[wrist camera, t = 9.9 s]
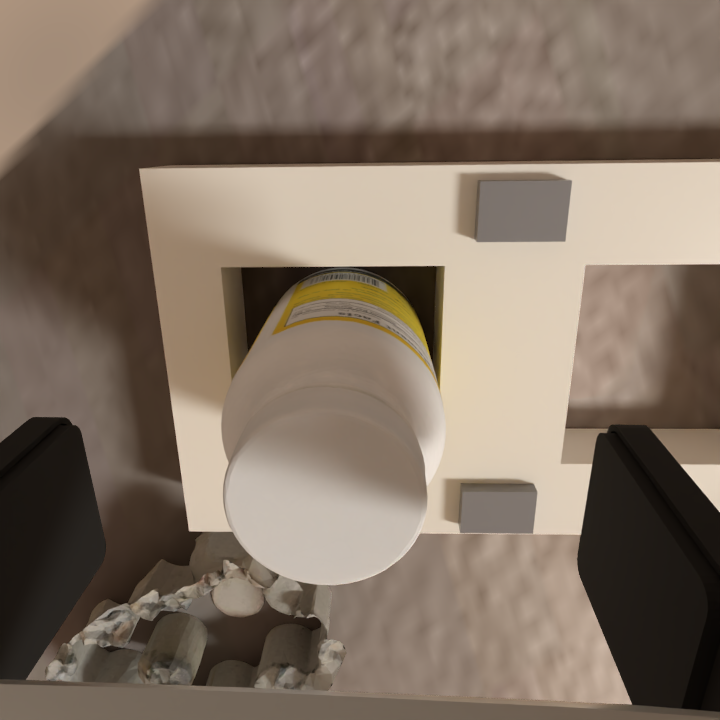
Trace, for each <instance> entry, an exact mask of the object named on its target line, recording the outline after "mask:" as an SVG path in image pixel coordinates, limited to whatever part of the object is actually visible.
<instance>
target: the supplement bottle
mask: <svg viewBox="0 0 720 720" xmlns="http://www.w3.org/2000/svg"><path fill="white" fill-rule="evenodd" d="M221 433H222V442H223V447H224V450H225V454H226V457H227V460H228V463H229V464H228V467H227V470H226V473H225V478H224V484H223V504H224V510H225V515H226V518H227V521H228V524H229V526H230V528H231V530H232V532H233V534H234V535H235V537H236V538H237V540H238V541H239V543H240V544H241V545H242V547H243V548H244V549H245V550H246V552H247V553H248V554H250V555H251V556H252V557H253V558H254V559H255V560H256V561H258V562H259V563H260V564H262V565H263V566H264V567H266V568H268V569H270V570H271V571H273V572H275V573H277V574H279V575H281V576H284V577H286V578H289V579H292V580H295V581H299V582H303V583H310V584H316V585H339V584H347V583H352V582H356V581H360V580H364V579H366V578H369V577H372V576H374V575H376V574H378V573H380V572H382V571H384V570H386V569H387V568H389V567H390V566H391V565H393V564H394V563H396V562H397V561H398V560H399V559H400V558H402V557H403V556H404V554H405V553H406V552H407V551H408V550H409V549H410V548H411V546H412V545H413V544H414V542H415V541H416V539H417V537H418V535H419V533H420V531H421V529H422V526H423V523H424V520H425V516H426V511H427V498H428V496H427V486H428V485H429V483H430V482H431V480H432V478H433V476H434V475H435V473H436V471H437V469H438V467H439V464H440V461H441V458H442V454H443V450H444V445H445V437H446V422H445V413H444V406H443V401H442V397H441V393H440V389H439V386H438V382H437V379H436V374H435V371H434V368H433V364H432V361H431V357H430V353H429V350H428V346H427V343H426V339H425V336H424V332H423V329H422V326H421V323H420V320H419V318H418V316H417V313H416V311H415V309H414V307H413V306H412V304H411V303H410V301H409V300H408V299H407V297H406V296H405V295H404V294H403V293H402V292H401V291H400V290H399V289H398V288H397V287H396V286H395V285H393V284H392V283H391V282H389V281H388V280H386V279H385V278H383V277H381V276H379V275H377V274H375V273H372V272H369V271H366V270H362V269H357V268H331V269H326V270H321V271H318V272H316V273H313V274H311V275H309V276H307V277H305V278H303V279H301V280H300V281H298V282H297V283H296V284H294V285H293V286H292V287H291V288H290V289H289V290H288V291H287V292H286V293H285V294H284V295H283V296H282V297H281V299H280V300H279V301H278V303H277V304H276V306H275V307H274V308H273V310H272V312H271V314H270V315H269V317H268V319H267V320H266V322H265V324H264V326H263V328H262V329H261V331H260V333H259V334H258V336H257V338H256V340H255V342H254V343H253V345H252V347H251V349H250V350H249V352H248V354H247V355H246V357H245V359H244V360H243V362H242V364H241V365H240V367H239V369H238V370H237V372H236V374H235V376H234V378H233V380H232V382H231V385H230V387H229V389H228V392H227V395H226V398H225V401H224V406H223V411H222V419H221Z"/></svg>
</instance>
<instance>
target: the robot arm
mask: <svg viewBox="0 0 720 720" xmlns="http://www.w3.org/2000/svg"><path fill="white" fill-rule="evenodd" d="M105 552H106V543H105V538H104V533H103V529H102V524H101V520H100V515H99V511H98V506H97V502H96V497H95V493H94V488H93V484H92V479H91V475H90V470H89V466H88V461H87V456H86V452H85V447H84V443H83V438H82V434H81V431H80V429H79V428H78V427H77V426H75V425H72V423H71V422H70V420H69V419H67V418H60V417H33V418H31V419H29V420H28V421H26V422H25V423H24V424H23V425H22V426H20V427H19V428H18V429H17V430H15V431H14V432H13V433H12V434H11V435H9V436H8V437H7V438H6V439H4V440H3V441H2V442H1V443H0V720H720V512H719V511H718V509H717V508H716V507H715V506H714V505H713V503H712V502H711V501H710V500H709V499H708V497H707V496H706V495H705V494H704V493H703V492H702V490H701V489H700V488H699V487H698V486H697V484H696V483H695V482H694V481H693V480H692V478H691V477H690V476H689V475H688V474H687V472H686V471H685V470H684V469H683V468H682V466H681V465H680V464H679V463H678V462H677V460H676V459H675V458H674V457H673V456H672V454H671V453H670V452H669V451H668V450H667V448H666V447H665V446H664V445H663V444H662V442H661V441H660V440H659V439H658V438H657V436H656V435H655V434H654V433H653V432H652V430H651V429H650V428H649V427H647V426H646V425H611V426H610V427H609V428H608V430H607V433H599V434H598V436H597V439H596V444H595V450H594V456H593V462H592V469H591V475H590V481H589V487H588V494H587V500H586V506H585V512H584V518H583V525H582V531H581V537H580V543H579V550H578V558H577V561H578V571H579V575H580V578H581V580H582V583H583V585H584V588H585V590H586V593H587V595H588V597H589V600H590V602H591V605H592V607H593V610H594V612H595V615H596V617H597V619H598V622H599V624H600V627H601V629H602V632H603V634H604V636H605V639H606V641H607V644H608V646H609V649H610V651H611V654H612V656H613V658H614V661H615V663H616V666H617V668H618V671H619V673H620V675H621V678H622V680H623V683H624V685H625V688H626V690H627V693H628V695H629V697H630V700H631V702H632V705H628V704H604V703H582V702H565V701H548V700H527V699H504V698H482V697H459V696H436V695H414V694H391V693H369V692H344V691H319V690H293V689H268V688H242V687H215V686H188V685H162V684H133V683H102V682H71V681H40V680H26V678H27V677H28V675H29V674H30V672H31V671H32V669H33V668H34V666H35V665H36V663H37V662H38V660H39V659H40V657H41V655H42V654H43V652H44V651H45V649H46V648H47V646H48V645H49V643H50V642H51V640H52V639H53V637H54V636H55V634H56V633H57V631H58V630H59V628H60V627H61V625H62V624H63V622H64V621H65V619H66V618H67V616H68V614H69V613H70V611H71V610H72V608H73V607H74V605H75V604H76V602H77V601H78V599H79V598H80V596H81V595H82V593H83V592H84V590H85V589H86V587H87V586H88V584H89V583H90V581H91V580H92V578H93V576H94V575H95V573H96V572H97V570H98V569H99V567H100V566H101V564H102V562H103V560H104V557H105Z"/></svg>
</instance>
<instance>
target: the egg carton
mask: <svg viewBox="0 0 720 720" xmlns="http://www.w3.org/2000/svg"><path fill="white" fill-rule="evenodd" d="M195 541H196V546H195V549H194V551H193V552H192V554H191V558H190V563H189V566H178V565H174V564H171V563H169V562H167V561H165V560H164V559H162V560H160V561H159V562H158V563H157V564H156V565H155V567H154V568H153V569H152V570H151V571H150V572H148V574H147V575H146V576H145V577H144V578H143V579H142V580H141V581H140V582H139V583H138V584H137V586H136V587H135V590H134V592H133V593H132V595H131V597H130V599H129V602H128V603H125V604H118V603H116V602H113V601H111V600H110V599H106V600H104V601H102V602H100V603H99V604H98V605H97V606H96V607H95V608H94V609H93V611H92V613H91V616H90V619H89V622H88V624H87V625H86V627H85V629H83V630H82V631H81V632H80V633H78V634H77V635H75V636H74V637H73V638H72V640H71V641H70V642H69V643H68V644H66V643H64V644H62V646H61V647H60V649H59V651H58V653H57V655H56V657H55V659H54V660H53V661H52V662H51V664H50V665H49V666H48V667H46V670H45V674H46V679H47V680H49V681H56V680H58V679H61V680H62V681H71V682H102V683H133V684H162V685H188V686H191V685H192V683H193V680H194V678H195V676H196V673H197V670H198V668H199V665H200V662H201V659H202V655H203V652H204V649H205V647H206V643H207V629H206V627H205V625H204V624H203V623H202V621H200V620H199V619H198V618H196V617H194V616H192V615H190V614H186V613H172V614H168V615H165V616H164V617H162V618H161V619H160V620H159V621H158V623H157V624H156V627H155V629H154V631H153V633H152V635H151V637H150V639H149V642H148V644H147V646H146V648H145V650H143V651H144V652H143V654H142V653H140V652H138V651H135V650H131V649H119V650H116V651H113V652H108V651H107V650H105V649H104V648H103V647H107V646H111V645H112V646H116V647H120V648H124V647H125V646H126V645H127V644H128V643H129V642H130V638H131V635H132V633H133V631H134V629H135V627H136V625H137V622H138V620H139V618H140V617H141V618H143V619H146V620H149V621H153V619H154V618H155V617H156V616H157V615H158V614H159V612H160V611H162V610H164V611H173V612H174V611H177V610H178V609H180V608H181V607H182V608H184V609H186V610H187V609H188V607H189V606H190V604H191V602H192V599H197V598H199V597H202V596H205V595H206V594H207V593H209V592H210V591H211V590H212V591H211V595H212V600H213V602H214V605H215V606H216V607H217V608H218V609H219V610H220V611H222V612H223V613H225V614H227V615H229V616H232V617H241V618H243V617H247V616H250V615H253V614H256V613H258V612H259V611H260V610H261V608H262V606H263V604H264V598H265V599H266V601H267V602H268V603H269V605H270V606H271V608H274V609H275V610H277V611H279V612H281V613H284V614H287V615H295V616H294V618H295V617H307V618H310V617H316V618H318V619H319V620H320V621H321V623H322V624H321V627H320V628H318V629H316V630H314V631H311V630H309V629H308V628H306V627H304V626H301V625H298V624H283V625H279V626H276V627H274V628H273V629H272V630H271V631H270V632H269V633H268V635H267V636H266V639H265V644H264V648H263V652H262V656H261V661H260V665H258V666H256V667H253V666H251V665H249V664H247V663H245V662H242V661H237V660H226V661H223V662H220V663H218V664H217V665H215V666H214V667H213V668H212V669H211V671H210V673H209V677H208V680H207V683H206V686H215V687H242V688H268V689H293V690H319V691H328V690H329V689H330V687H331V686H332V684H333V681H334V679H335V677H336V675H337V673H338V670H339V668H340V666H341V664H342V661H343V659H344V657H345V655H346V650H345V648H344V645H343V644H342V643H341V642H339V641H335V640H328V639H327V634H328V630H329V622H330V620H329V615H330V606H331V598H332V593H331V590H330V587H329V586H328V585H316V584H310V583H303V582H299V581H295V580H292V579H289V578H286V577H284V576H281V575H279V574H277V573H275V572H273V571H271V570H270V569H268V568H266V567H264V566H263V565H262V564H260V563H259V562H258V561H256V560H255V559H254V558H253V557H252V556H251V555H250V554H248V553H247V552H246V550H245V549H244V548H243V547H242V545H241V544H240V543H239V541H238V540H237V538H236V537H235V535H234V534H233V532H203V533H202V534H201V535H200V536H199V537H198V538H196V539H195Z"/></svg>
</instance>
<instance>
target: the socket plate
mask: <svg viewBox="0 0 720 720" xmlns="http://www.w3.org/2000/svg"><path fill="white" fill-rule="evenodd" d="M139 172H140V179H141V186H142V193H143V201H144V208H145V215H146V222H147V230H148V237H149V244H150V251H151V259H152V266H153V273H154V280H155V288H156V295H157V302H158V309H159V317H160V324H161V331H162V338H163V346H164V353H165V360H166V367H167V375H168V382H169V389H170V396H171V404H172V411H173V418H174V425H175V433H176V440H177V447H178V454H179V462H180V469H181V476H182V483H183V491H184V498H185V505H186V512H187V520H188V527H189V531H197V532H232V530H231V528H230V526H229V524H228V521H227V518H226V515H225V510H224V504H223V484H224V478H225V473H226V470H227V467H228V464H229V463H228V460H227V457H226V454H225V450H224V447H223V442H222V433H221V419H222V411H223V406H224V401H225V398H226V395H227V392H228V389H229V387H230V385H231V382H232V380H233V378H234V376H235V374H236V372H237V370H238V369H239V367H240V365H241V364H242V362H243V360H244V359H245V357H246V355H247V354H248V344H247V332H246V321H245V309H244V297H243V285H242V273H241V267H348V266H436V283H435V313H434V342H433V368H434V371H435V374H436V379H437V382H438V386H439V389H440V393H441V397H442V401H443V406H444V413H445V422H446V437H445V445H444V450H443V454H442V458H441V461H440V464H439V467H438V469H437V471H436V473H435V475H434V476H433V478H432V480H431V482H430V483H429V485H428V486H427V496H428V498H427V511H426V516H425V520H424V523H423V526H422V529H421V531H420V533H444V534H568V535H581V531H582V525H583V518H584V512H585V506H586V500H587V494H588V487H589V481H590V475H591V469H592V462H593V456H594V450H595V444H596V439H597V436H598V434H599V433H607V430H608V429H565V425H566V417H567V409H568V401H569V393H570V385H571V377H572V369H573V361H574V353H575V345H576V337H577V329H578V321H579V313H580V305H581V297H582V289H583V281H584V273H585V265H671V264H720V159H665V160H579V161H494V162H409V163H323V164H238V165H168V166H159V167H150V168H141V169H139ZM651 430H652V432H653V433H654V434H655V435H656V436H657V438H658V439H659V440H660V441H661V442H662V444H663V445H664V446H665V447H666V448H667V450H668V451H669V452H670V453H671V454H672V456H673V457H674V458H675V459H676V460H677V462H678V463H679V464H680V465H681V466H682V468H683V469H684V470H685V471H686V472H687V474H688V475H689V476H690V477H691V478H692V480H693V481H694V482H695V483H696V484H697V486H698V487H699V488H700V489H701V490H702V492H703V493H704V494H705V495H706V496H707V497H708V499H709V500H710V501H711V502H712V503H713V505H714V506H715V507H716V508H717V509H718V511H719V512H720V429H651Z"/></svg>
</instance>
